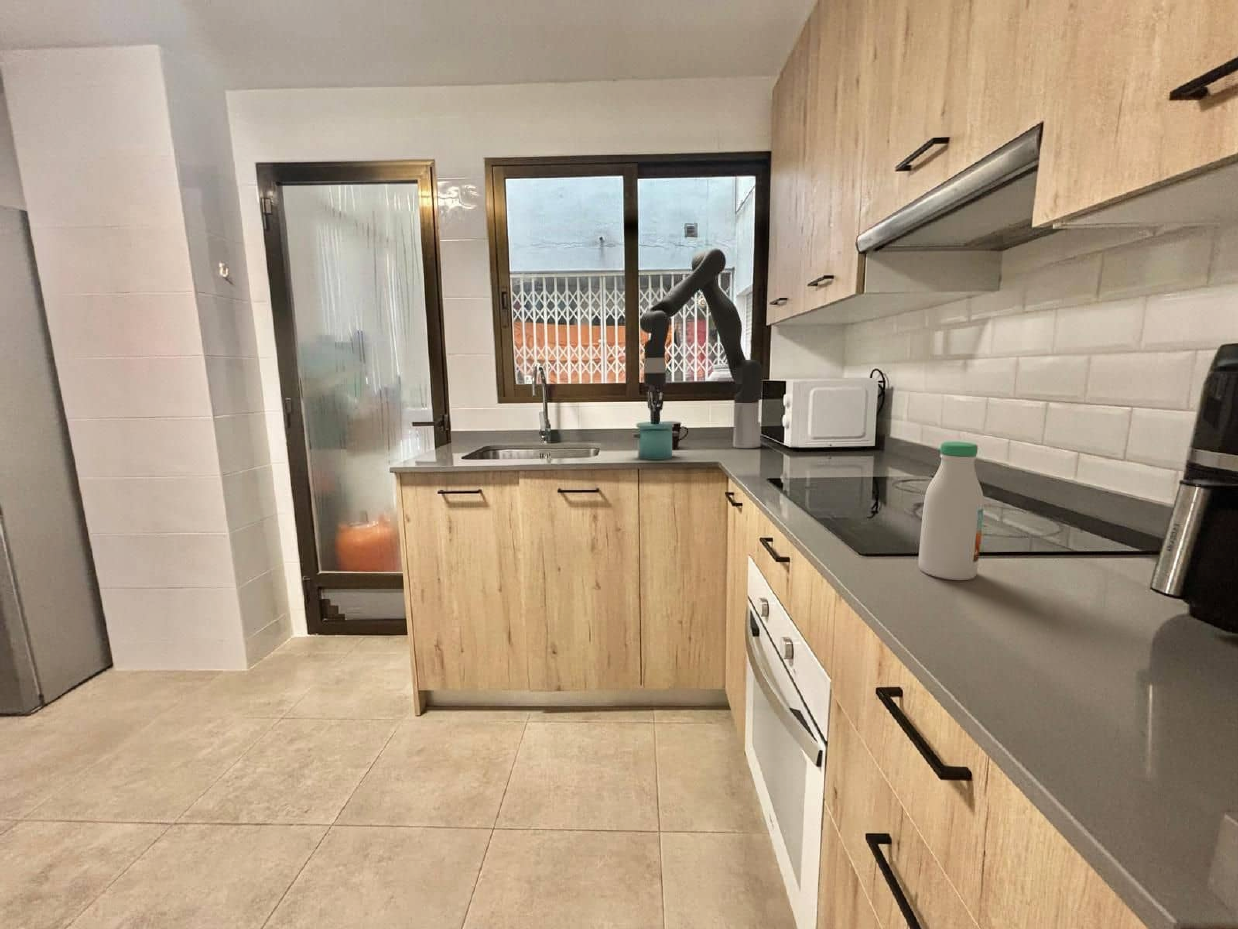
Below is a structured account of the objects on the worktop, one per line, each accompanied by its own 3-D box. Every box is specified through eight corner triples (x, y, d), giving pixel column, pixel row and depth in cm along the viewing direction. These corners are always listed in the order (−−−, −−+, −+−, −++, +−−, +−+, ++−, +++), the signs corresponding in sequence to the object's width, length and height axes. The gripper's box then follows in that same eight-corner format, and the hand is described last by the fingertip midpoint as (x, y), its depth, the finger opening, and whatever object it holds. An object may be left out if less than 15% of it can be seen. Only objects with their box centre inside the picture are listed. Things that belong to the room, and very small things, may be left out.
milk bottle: (963, 586, 77) (977, 449, 73) (908, 570, 83) (919, 443, 80) (985, 573, 81) (1000, 443, 78) (931, 559, 88) (943, 438, 84)
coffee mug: (654, 447, 211) (654, 422, 209) (672, 445, 215) (672, 420, 213) (670, 451, 201) (671, 424, 199) (689, 449, 205) (690, 423, 203)
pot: (671, 453, 196) (671, 426, 195) (682, 458, 185) (683, 429, 183) (628, 455, 193) (628, 427, 191) (637, 461, 181) (636, 431, 180)
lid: (664, 423, 195) (664, 407, 194) (680, 427, 183) (680, 409, 182) (631, 425, 191) (630, 408, 190) (644, 429, 179) (644, 411, 178)
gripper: (671, 371, 178) (671, 423, 181) (659, 371, 191) (659, 419, 194) (650, 372, 176) (650, 424, 179) (638, 371, 189) (639, 420, 193)
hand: (655, 421), depth 187 cm, fingers closed on lid, 3 cm apart
